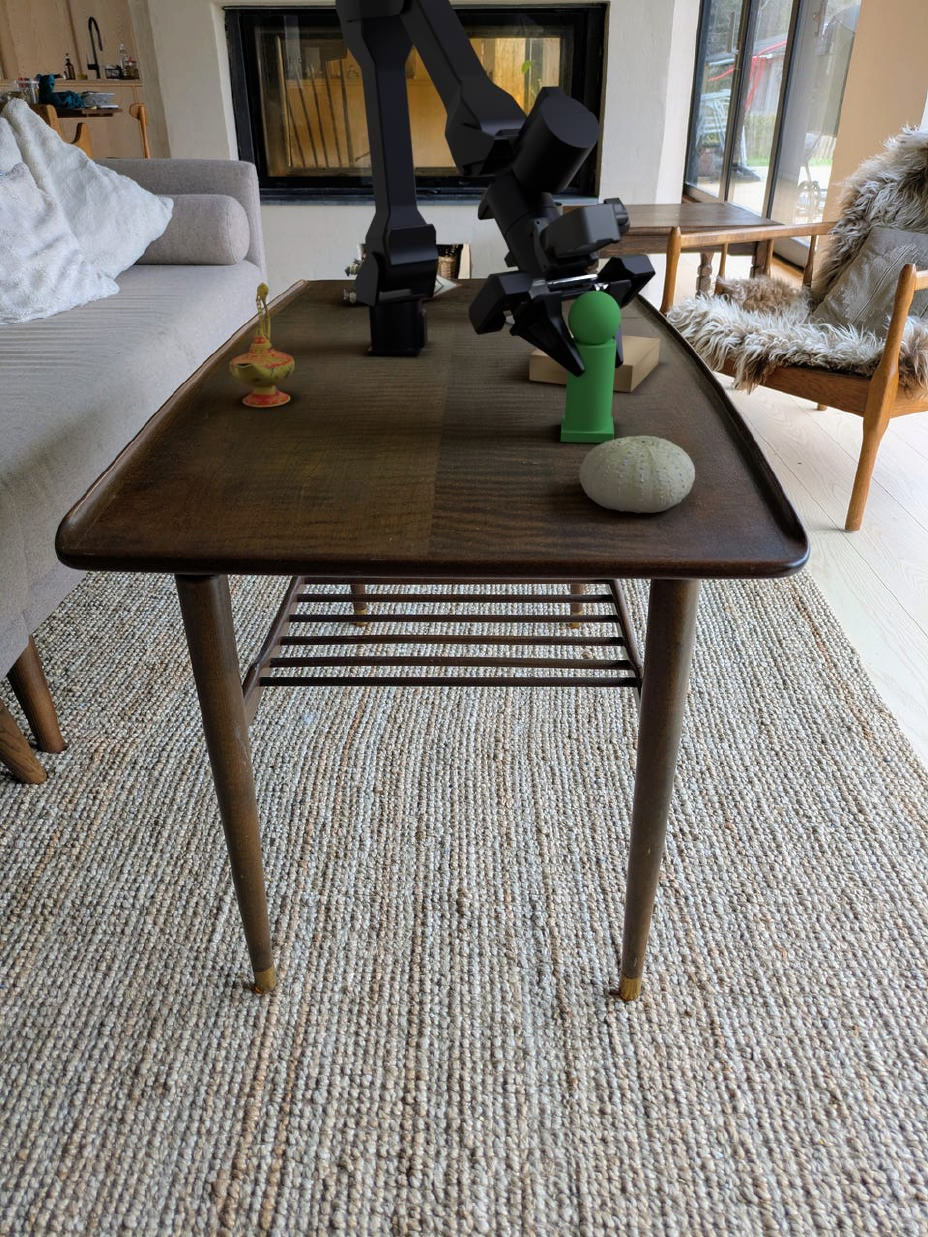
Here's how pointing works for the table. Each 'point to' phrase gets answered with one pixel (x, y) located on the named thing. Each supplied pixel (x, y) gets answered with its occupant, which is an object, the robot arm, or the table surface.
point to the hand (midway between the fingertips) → (600, 370)
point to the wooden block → (635, 368)
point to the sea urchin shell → (637, 474)
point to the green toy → (592, 369)
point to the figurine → (440, 288)
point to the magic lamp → (263, 364)
